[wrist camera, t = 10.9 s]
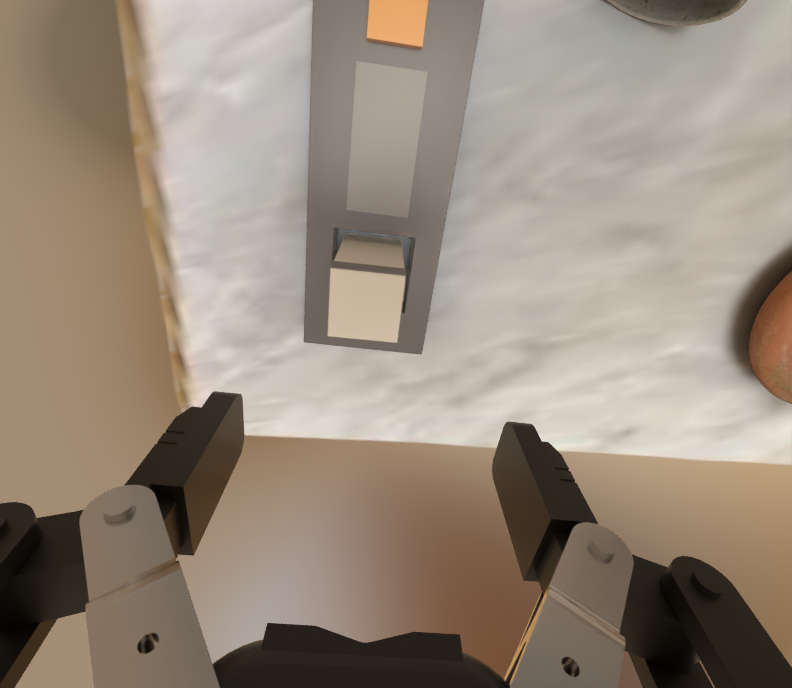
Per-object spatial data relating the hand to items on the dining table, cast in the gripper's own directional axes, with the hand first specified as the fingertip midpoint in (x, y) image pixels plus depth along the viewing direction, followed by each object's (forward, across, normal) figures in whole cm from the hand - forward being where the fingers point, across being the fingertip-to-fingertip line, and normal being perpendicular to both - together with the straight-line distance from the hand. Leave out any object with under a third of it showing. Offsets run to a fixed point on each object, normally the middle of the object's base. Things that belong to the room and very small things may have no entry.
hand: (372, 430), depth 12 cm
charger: (+20, +1, +1) cm, 20 cm away
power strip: (+20, +1, -8) cm, 22 cm away
